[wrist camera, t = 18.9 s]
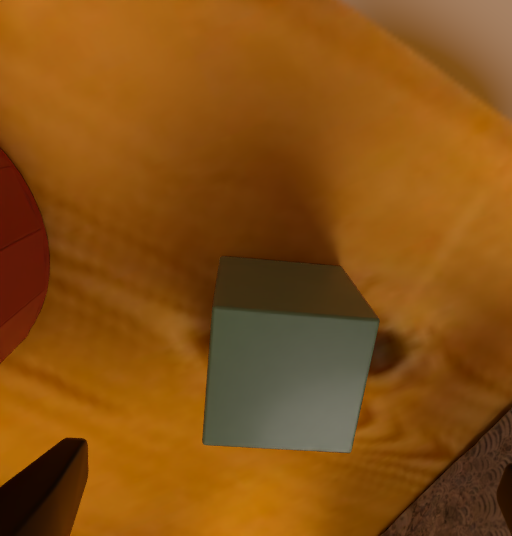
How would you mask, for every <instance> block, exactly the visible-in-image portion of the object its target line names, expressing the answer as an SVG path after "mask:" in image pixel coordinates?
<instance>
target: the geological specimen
mask: <svg viewBox="0 0 512 536" xmlns="http://www.w3.org/2000/svg"><path fill="white" fill-rule="evenodd" d="M509 463H512V408H511V409H510V410H509V411H508V412H507V413H506V414H505V415H504V416H503V417H502V418H501V419H500V420H499V421H498V423H497V424H496V425H495V426H493V427H492V428H491V429H490V430H489V431H488V432H487V433H486V434H484V435H483V436H482V437H481V439H480V440H479V441H478V442H477V444H476V445H475V446H474V447H472V448H471V449H470V450H469V451H468V452H466V453H465V454H464V455H463V456H462V457H460V458H459V459H458V460H457V461H456V462H455V463H454V464H453V465H452V466H451V467H450V468H448V469H447V470H446V471H445V472H444V473H443V474H442V475H441V476H440V477H439V478H438V479H437V480H436V481H435V482H434V483H433V484H432V485H431V486H430V487H429V488H428V489H427V490H426V491H425V492H424V493H423V494H422V495H421V496H420V497H419V498H418V499H417V500H416V501H415V502H414V503H413V504H412V505H411V506H410V507H409V508H408V509H407V510H406V511H405V512H404V513H403V514H402V515H401V516H400V517H399V518H398V519H397V520H396V521H395V522H394V523H393V524H392V525H391V526H390V527H389V528H388V529H387V530H386V531H385V532H384V533H383V534H382V535H381V536H511V534H510V531H509V529H508V527H507V524H506V522H505V519H504V517H503V515H502V512H501V510H500V508H499V505H498V502H497V498H496V491H497V488H498V485H499V482H500V480H501V477H502V474H503V472H504V469H505V467H506V465H507V464H509Z"/></svg>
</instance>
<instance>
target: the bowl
mask: <svg viewBox="0 0 512 536" xmlns="http://www.w3.org/2000/svg"><path fill="white" fill-rule="evenodd" d="M49 274H50V255H49V247H48V240H47V234H46V231H45V227H44V224H43V220H42V216H41V214H40V212H39V209H38V207H37V204H36V202H35V200H34V197H33V195H32V193H31V192H30V190H29V188H28V186H27V184H26V183H25V181H24V179H23V177H22V176H21V174H20V173H19V172H18V170H17V169H16V167H15V166H14V165H13V163H12V162H11V161H10V159H9V158H8V156H7V155H6V154H5V153H4V152H3V151H2V150H1V149H0V363H1V362H2V361H3V360H4V359H5V358H6V357H7V356H8V355H9V354H10V353H11V352H12V351H13V350H14V349H15V348H16V347H17V346H18V345H19V344H20V343H21V342H22V341H23V340H24V339H25V338H26V337H27V336H28V333H29V331H30V329H31V327H32V326H33V324H34V323H35V321H36V319H37V317H38V315H39V313H40V311H41V309H42V306H43V303H44V300H45V296H46V293H47V288H48V281H49Z"/></svg>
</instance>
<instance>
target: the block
mask: <svg viewBox="0 0 512 536" xmlns="http://www.w3.org/2000/svg"><path fill="white" fill-rule="evenodd" d="M378 326H379V318H378V317H377V315H376V314H375V312H374V311H373V310H372V308H371V307H370V305H369V304H368V303H367V301H366V300H365V298H364V297H363V296H362V294H361V293H360V292H359V290H358V289H357V287H356V286H355V285H354V283H353V282H352V280H351V279H350V278H349V276H348V275H347V273H346V272H345V271H344V269H343V268H342V267H341V266H333V265H321V264H310V263H298V262H286V261H275V260H263V259H251V258H240V257H228V256H221V257H220V260H219V266H218V273H217V279H216V286H215V292H214V299H213V305H212V316H211V329H210V343H209V357H208V370H207V384H206V397H205V411H204V424H203V438H202V442H203V444H204V445H214V446H232V447H250V448H268V449H286V450H304V451H322V452H340V453H350V452H351V450H352V446H353V441H354V437H355V432H356V427H357V423H358V418H359V413H360V409H361V404H362V400H363V395H364V390H365V386H366V381H367V377H368V372H369V367H370V363H371V358H372V354H373V349H374V344H375V340H376V335H377V331H378Z"/></svg>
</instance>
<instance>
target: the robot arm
mask: <svg viewBox="0 0 512 536" xmlns="http://www.w3.org/2000/svg"><path fill="white" fill-rule="evenodd" d="M87 478H88V445H87V441H86V440H85V439H83V438H65V439H63V440H62V441H60V442H59V443H58V444H56V445H55V446H54V447H52V448H51V449H50V450H48V451H47V452H46V453H44V454H43V455H42V456H41V457H39V458H38V459H37V460H35V461H34V462H33V463H31V464H30V465H29V466H27V467H26V468H25V469H23V470H22V471H21V472H19V473H18V474H17V475H16V476H14V477H13V478H12V479H10V480H9V481H8V482H6V483H5V484H4V485H2V486H1V487H0V536H70V533H71V530H72V527H73V524H74V521H75V517H76V514H77V511H78V508H79V505H80V501H81V498H82V495H83V492H84V489H85V485H86V482H87ZM496 498H497V502H498V505H499V508H500V510H501V512H502V515H503V517H504V519H505V522H506V524H507V527H508V529H509V531H510V534H511V536H512V463H509V464H507V465H506V467H505V469H504V472H503V474H502V477H501V480H500V482H499V485H498V488H497V491H496Z"/></svg>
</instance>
